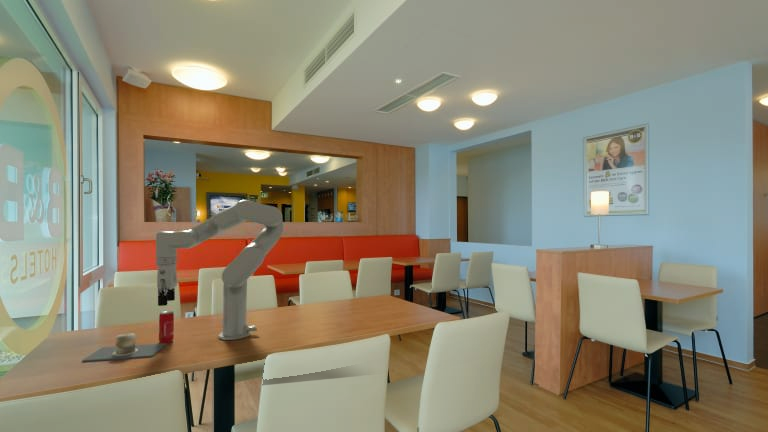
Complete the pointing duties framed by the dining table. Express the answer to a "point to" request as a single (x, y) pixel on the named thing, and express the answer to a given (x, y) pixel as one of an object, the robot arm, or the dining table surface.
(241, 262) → the robot arm
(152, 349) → the mat
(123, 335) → the birch drum
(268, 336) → the dining table surface
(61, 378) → the dining table surface
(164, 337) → the beverage can
